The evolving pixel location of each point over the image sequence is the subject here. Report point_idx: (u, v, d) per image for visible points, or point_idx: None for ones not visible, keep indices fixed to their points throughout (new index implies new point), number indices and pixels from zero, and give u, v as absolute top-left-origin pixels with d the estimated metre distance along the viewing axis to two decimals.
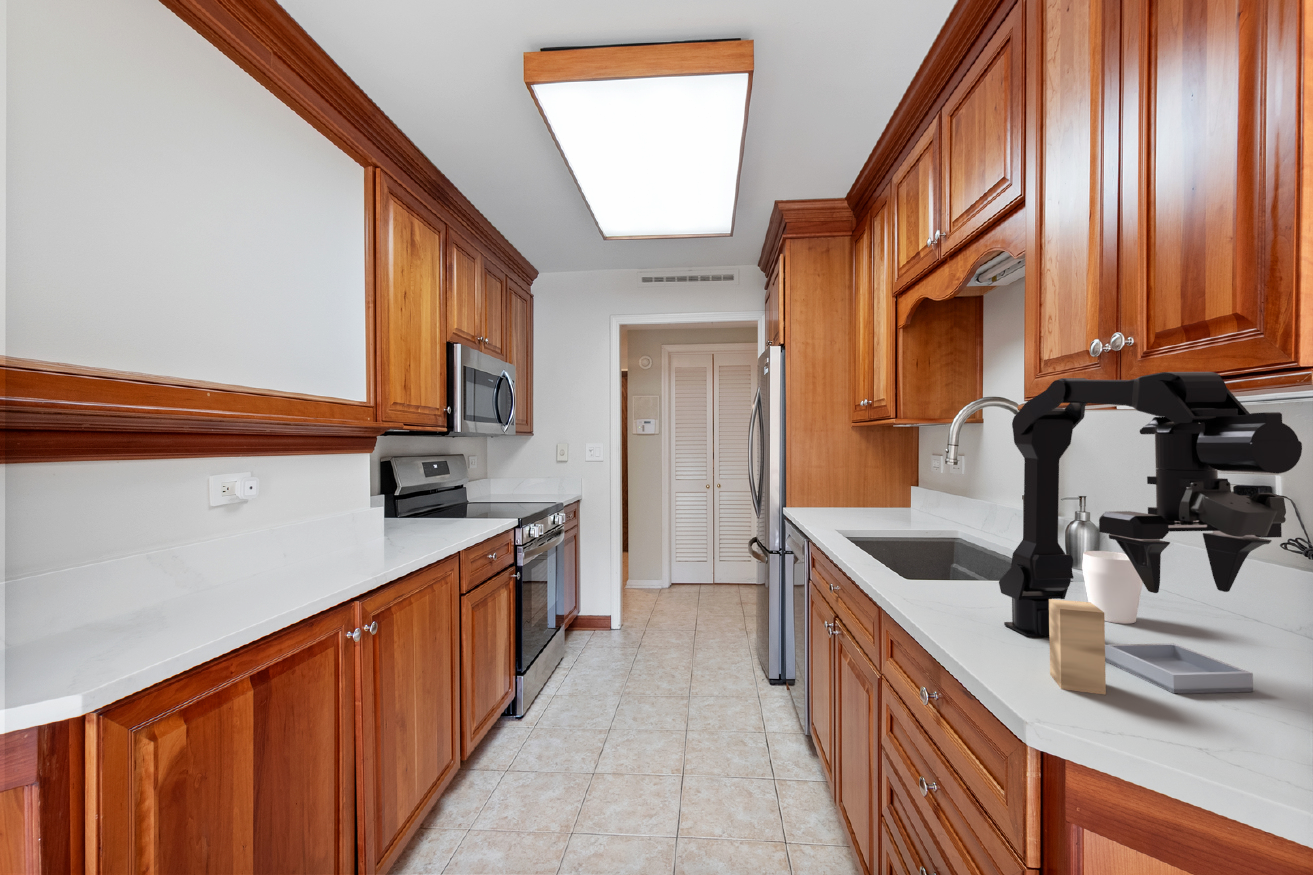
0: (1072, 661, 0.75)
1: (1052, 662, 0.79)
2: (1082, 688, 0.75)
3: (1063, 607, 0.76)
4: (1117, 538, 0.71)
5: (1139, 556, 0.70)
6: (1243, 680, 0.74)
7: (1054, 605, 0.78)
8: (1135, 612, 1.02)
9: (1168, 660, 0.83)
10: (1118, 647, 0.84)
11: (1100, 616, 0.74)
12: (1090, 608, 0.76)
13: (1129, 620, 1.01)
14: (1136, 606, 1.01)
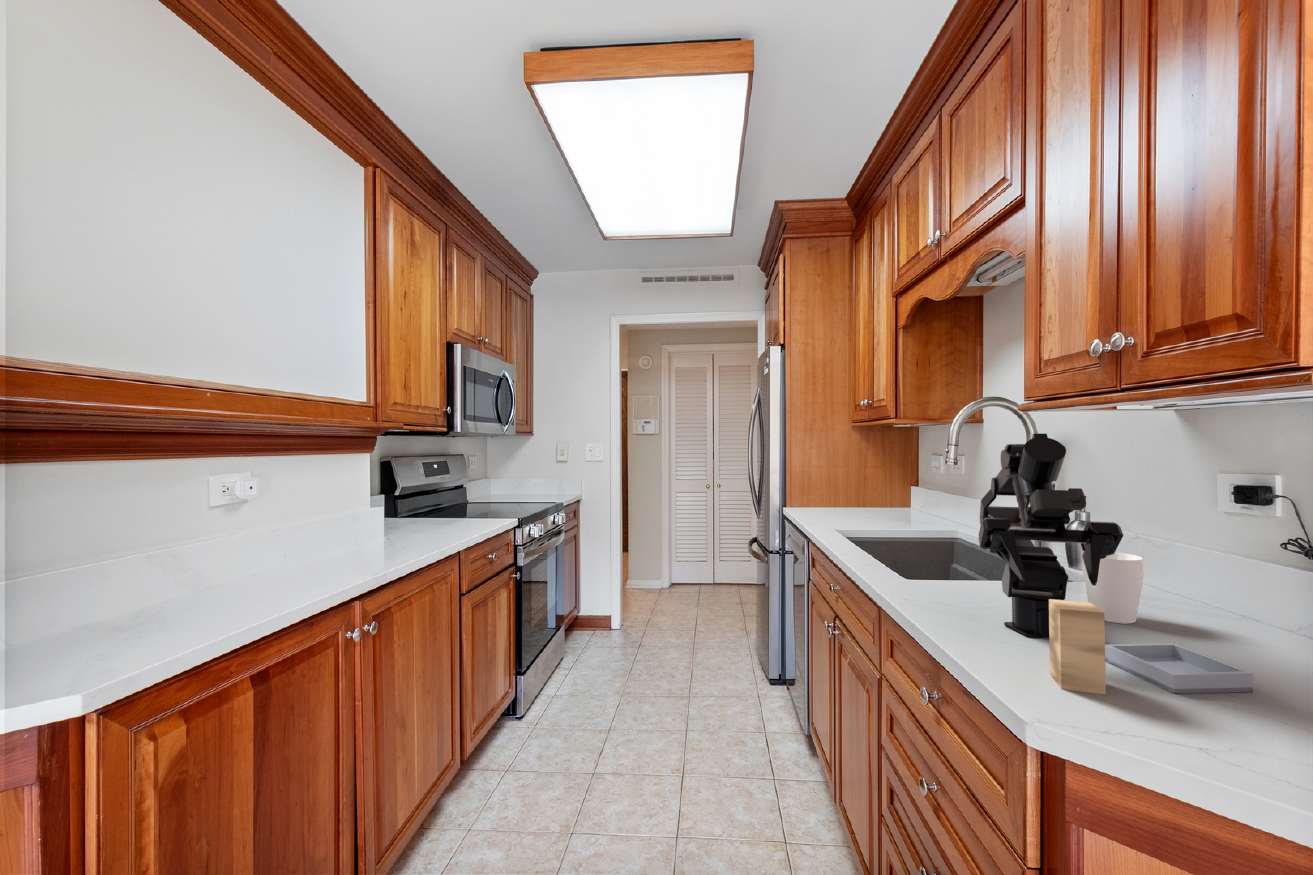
0: (1072, 661, 0.75)
1: (1052, 662, 0.79)
2: (1082, 688, 0.75)
3: (1063, 607, 0.76)
4: (990, 546, 0.92)
5: (1008, 556, 0.90)
6: (1243, 680, 0.74)
7: (1054, 605, 0.78)
8: (1135, 612, 1.02)
9: (1168, 660, 0.83)
10: (1118, 647, 0.84)
11: (1100, 616, 0.74)
12: (1090, 608, 0.76)
13: (1129, 620, 1.01)
14: (1136, 606, 1.01)
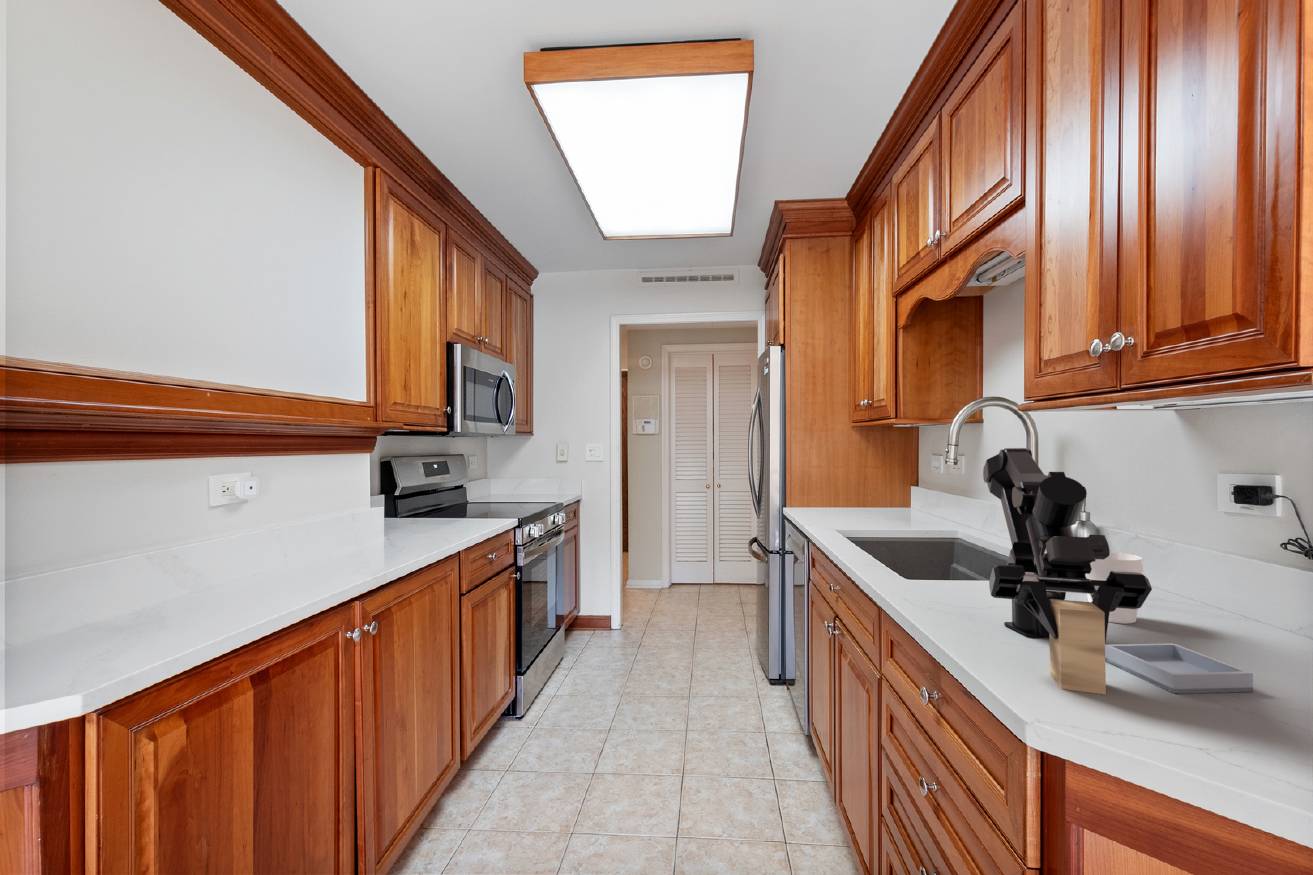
0: (1072, 661, 0.75)
1: (1052, 662, 0.79)
2: (1082, 688, 0.75)
3: (1063, 607, 0.76)
4: (1017, 596, 0.83)
5: (1038, 609, 0.80)
6: (1243, 680, 0.74)
7: (1054, 605, 0.78)
8: (1135, 612, 1.02)
9: (1168, 660, 0.83)
10: (1118, 647, 0.84)
11: (1100, 616, 0.74)
12: (1090, 608, 0.76)
13: (1129, 620, 1.01)
14: None
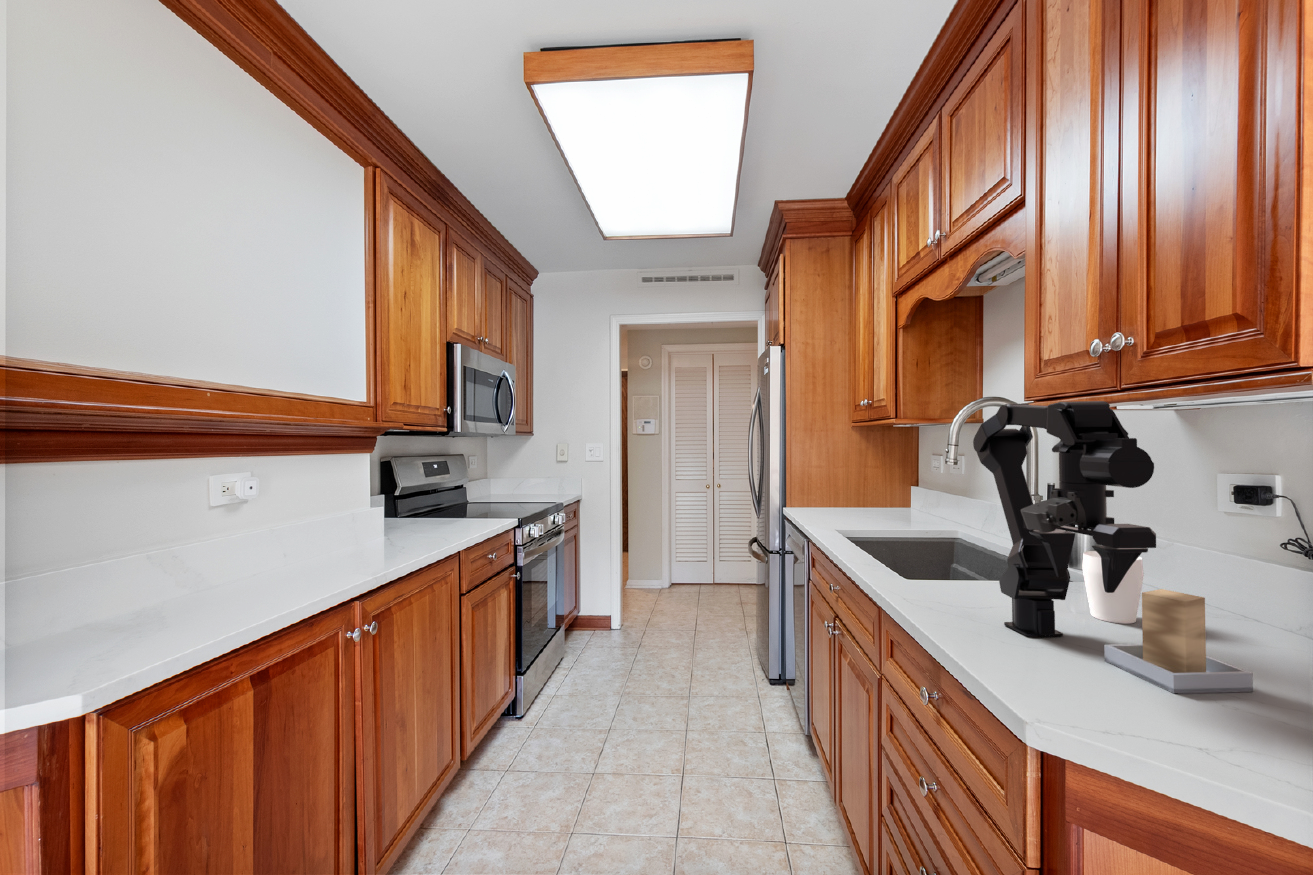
0: (1191, 650, 0.77)
1: (1153, 655, 0.80)
2: None
3: (1178, 599, 0.77)
4: None
5: None
6: (1243, 680, 0.74)
7: (1163, 598, 0.78)
8: (1135, 612, 1.02)
9: None
10: (1118, 647, 0.84)
11: (1203, 601, 0.78)
12: (1186, 595, 0.79)
13: (1129, 620, 1.01)
14: (1136, 606, 1.01)
